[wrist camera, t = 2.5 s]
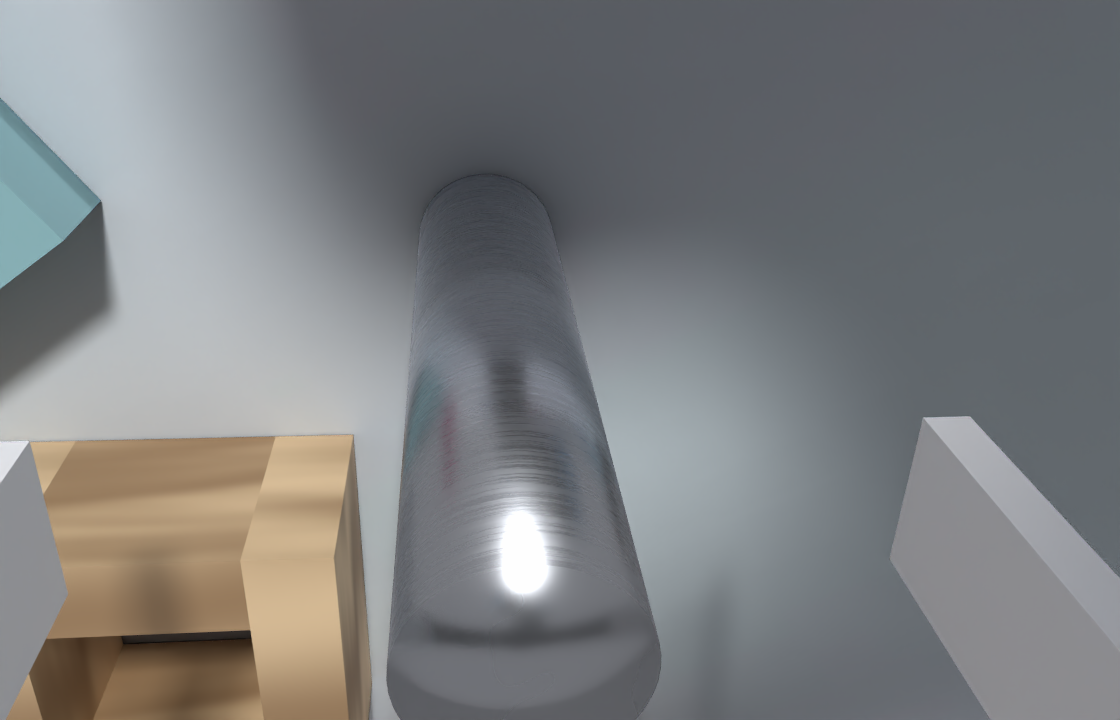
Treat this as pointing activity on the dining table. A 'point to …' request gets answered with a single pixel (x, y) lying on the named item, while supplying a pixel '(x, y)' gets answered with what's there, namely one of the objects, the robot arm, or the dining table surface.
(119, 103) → the dining table surface
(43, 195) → the teal tray
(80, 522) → the oak block wide bore
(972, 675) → the robot arm
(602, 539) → the cylinder
